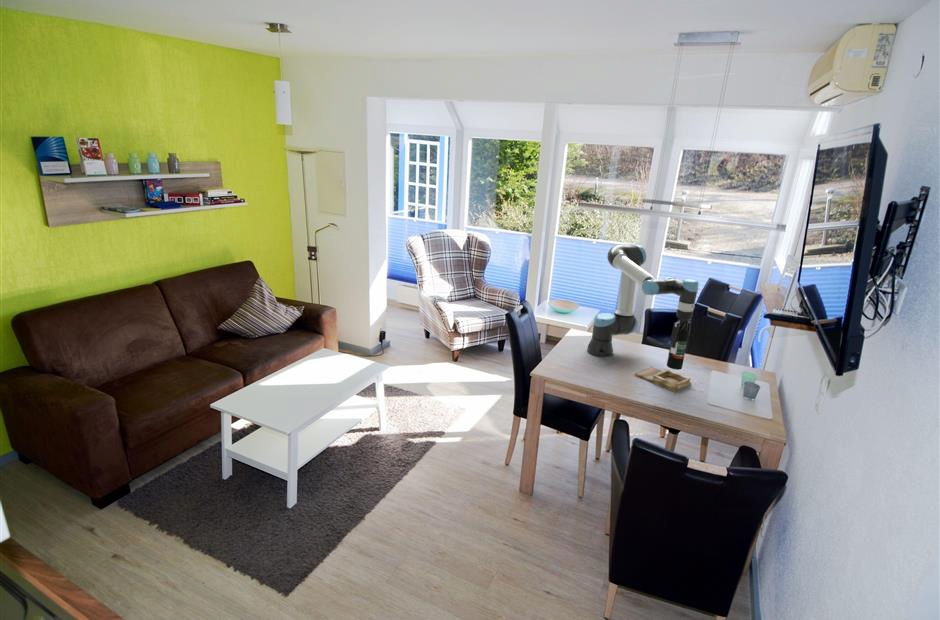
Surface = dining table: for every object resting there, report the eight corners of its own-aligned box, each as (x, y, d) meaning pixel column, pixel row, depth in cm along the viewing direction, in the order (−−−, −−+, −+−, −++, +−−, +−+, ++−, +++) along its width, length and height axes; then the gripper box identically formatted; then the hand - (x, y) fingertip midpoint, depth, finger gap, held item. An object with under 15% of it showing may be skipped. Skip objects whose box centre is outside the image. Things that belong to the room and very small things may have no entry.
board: (634, 374, 276) (635, 368, 275) (650, 368, 286) (652, 362, 285) (674, 392, 258) (676, 385, 257) (690, 384, 268) (692, 378, 267)
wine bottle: (679, 364, 268) (690, 310, 259) (683, 370, 261) (694, 315, 252) (665, 363, 269) (675, 309, 260) (668, 368, 262) (679, 314, 253)
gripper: (681, 315, 247) (673, 358, 254) (702, 308, 259) (694, 349, 266) (667, 311, 252) (659, 353, 259) (688, 304, 264) (680, 345, 271)
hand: (677, 351), depth 263 cm, fingers closed on wine bottle, 7 cm apart
